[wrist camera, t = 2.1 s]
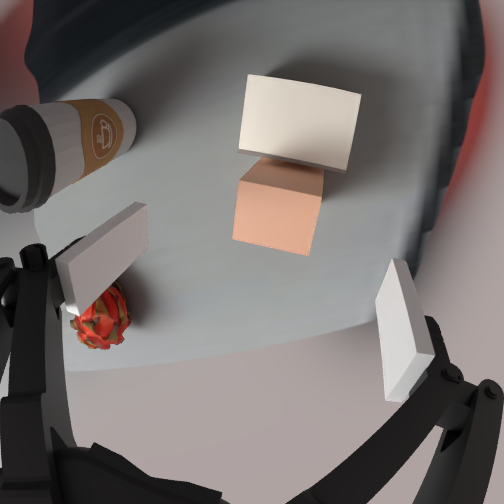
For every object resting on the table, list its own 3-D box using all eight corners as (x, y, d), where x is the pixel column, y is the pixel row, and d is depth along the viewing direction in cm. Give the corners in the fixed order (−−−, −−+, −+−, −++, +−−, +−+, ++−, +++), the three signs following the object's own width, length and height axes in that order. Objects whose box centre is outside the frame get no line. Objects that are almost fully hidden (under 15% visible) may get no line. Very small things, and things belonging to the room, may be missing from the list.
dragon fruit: (117, 323, 46) (120, 254, 42) (141, 358, 41) (146, 286, 36) (67, 333, 40) (62, 261, 36) (85, 373, 35) (78, 297, 31)
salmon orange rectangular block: (268, 150, 27) (239, 180, 19) (324, 161, 27) (322, 197, 18) (262, 192, 29) (232, 239, 21) (316, 203, 29) (308, 256, 20)
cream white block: (261, 77, 24) (247, 74, 20) (356, 94, 23) (362, 94, 19) (252, 142, 27) (237, 152, 23) (343, 160, 26) (345, 174, 22)
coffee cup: (149, 165, 31) (43, 224, 18) (89, 165, 32) (-13, 217, 19) (145, 84, 27) (25, 100, 14) (83, 94, 28) (-30, 120, 15)
